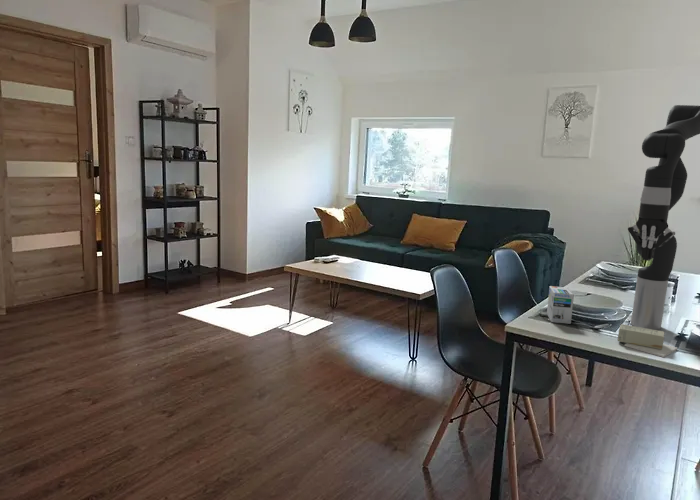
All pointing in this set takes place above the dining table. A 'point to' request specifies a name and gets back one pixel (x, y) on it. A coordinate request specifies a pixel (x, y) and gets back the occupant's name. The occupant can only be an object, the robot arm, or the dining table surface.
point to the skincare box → (641, 336)
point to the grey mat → (654, 349)
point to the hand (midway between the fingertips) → (646, 260)
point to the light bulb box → (560, 304)
